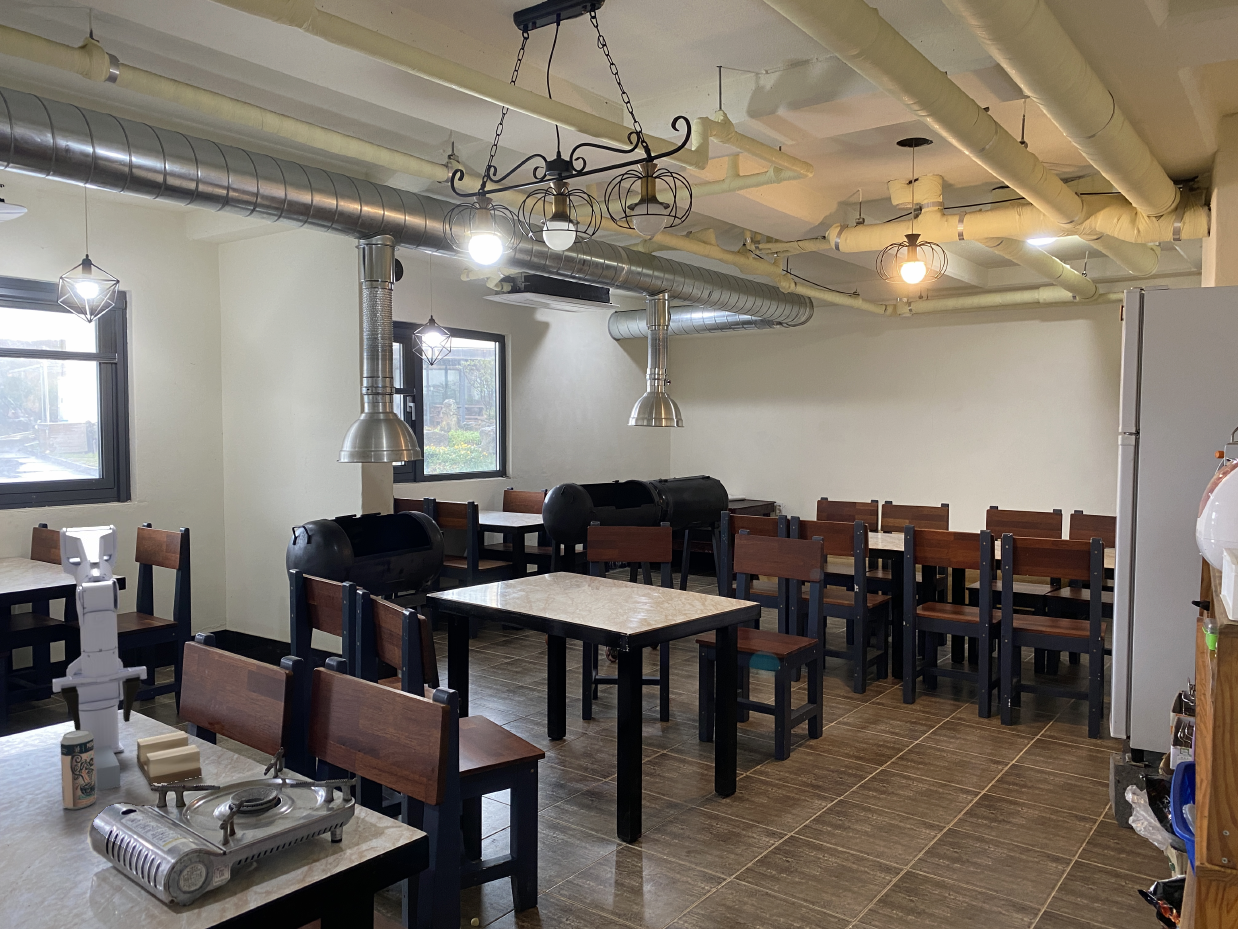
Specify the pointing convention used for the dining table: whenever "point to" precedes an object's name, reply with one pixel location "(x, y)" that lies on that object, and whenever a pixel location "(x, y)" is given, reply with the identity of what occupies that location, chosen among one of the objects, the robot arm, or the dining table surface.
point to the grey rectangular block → (106, 768)
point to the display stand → (168, 758)
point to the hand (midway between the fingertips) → (102, 724)
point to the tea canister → (78, 769)
